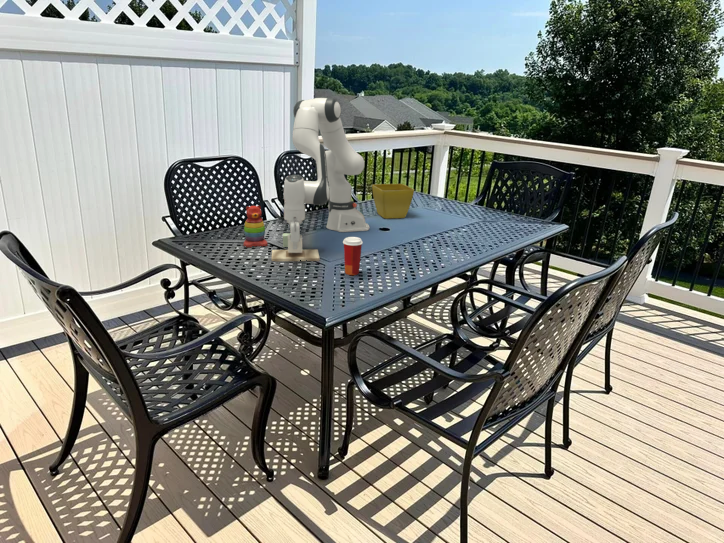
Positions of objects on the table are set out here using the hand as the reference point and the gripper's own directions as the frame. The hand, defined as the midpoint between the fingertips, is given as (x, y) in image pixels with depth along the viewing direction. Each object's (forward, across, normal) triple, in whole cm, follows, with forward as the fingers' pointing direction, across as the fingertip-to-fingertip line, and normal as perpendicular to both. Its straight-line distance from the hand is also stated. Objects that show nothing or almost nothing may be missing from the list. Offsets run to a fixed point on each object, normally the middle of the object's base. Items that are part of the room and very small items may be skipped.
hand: (294, 246), depth 219 cm
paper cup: (+5, -21, -22) cm, 31 cm away
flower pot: (+5, +70, -56) cm, 90 cm away
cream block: (+2, 0, 0) cm, 2 cm away
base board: (+5, 0, 0) cm, 5 cm away
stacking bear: (+5, +19, +18) cm, 27 cm away
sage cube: (+5, +15, +3) cm, 16 cm away
